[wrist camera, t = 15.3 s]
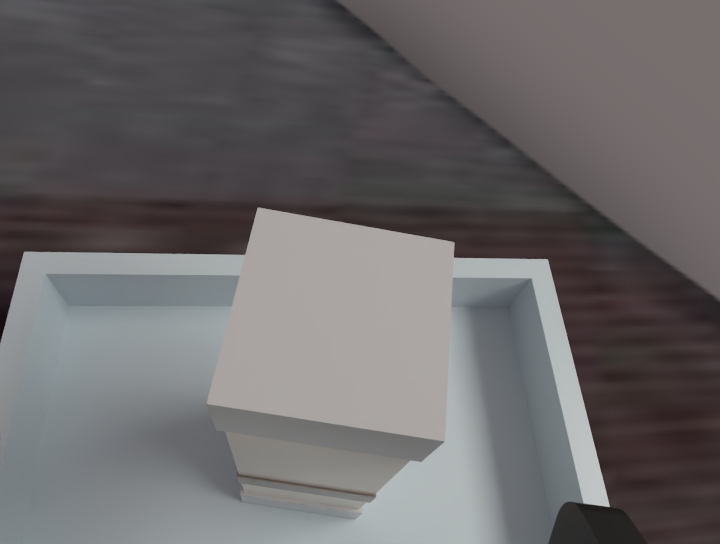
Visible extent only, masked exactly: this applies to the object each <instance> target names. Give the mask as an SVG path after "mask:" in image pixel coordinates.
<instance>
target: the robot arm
mask: <svg viewBox="0 0 720 544" xmlns="http://www.w3.org/2000/svg"><path fill="white" fill-rule="evenodd" d="M548 544H647V542H646V541H645V539H644V538H643V536H642V535H641V534H640V532H639V531H638V529H637V528H636V526H635V525H634V524H633V522H632V521H631V519H630V518H629V516H628V515H627V514H626V513H625V512H624V511H623V510H621V509H619V508H613V507H605V506H598V505H591V504H584V503H577V502H570V501H569V502H566V503H564V504H563V505H562V506H561V508H560V510H559V512H558V514H557V517H556V521H555V524H554V527H553V530H552V533H551V536H550V540H549V543H548Z"/></svg>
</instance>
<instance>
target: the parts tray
mask: <svg viewBox="0 0 720 544" xmlns="http://www.w3.org/2000/svg"><path fill="white" fill-rule="evenodd" d="M244 258H245V255H210V254H141V253H73V252H24V254H23V258H22V262H21V266H20V270H19V273H18V277H17V281H16V285H15V289H14V293H13V297H12V300H11V304H10V308H9V312H8V316H7V320H6V324H5V327H4V331H3V335H2V339H1V343H0V544H548V543H549V540H550V536H551V533H552V530H553V527H554V524H555V521H556V517H557V514H558V512H559V510H560V508H561V506H562V505H563V504H564V503H566V502H569V501H570V502H577V503H584V504H591V505H598V506H605V507H610V506H609V502H608V498H607V494H606V490H605V486H604V482H603V478H602V474H601V470H600V466H599V462H598V458H597V454H596V450H595V446H594V442H593V438H592V434H591V430H590V426H589V422H588V418H587V414H586V410H585V406H584V402H583V398H582V394H581V390H580V386H579V382H578V378H577V374H576V370H575V366H574V362H573V358H572V354H571V350H570V346H569V342H568V338H567V334H566V330H565V326H564V322H563V318H562V314H561V310H560V306H559V302H558V298H557V294H556V290H555V286H554V282H553V278H552V274H551V270H550V266H549V262H548V259H485V258H454V260H453V281H452V302H451V323H450V344H449V365H448V387H447V408H446V429H445V442H444V443H443V444H441V445H440V446H439V447H438V448H437V449H436V450H435V451H433V452H432V453H431V454H430V455H429V456H428V457H426V458H425V459H424V460H423V461H422V462H418V461H410V462H409V463H407V464H406V465H405V466H404V467H403V468H402V469H401V470H400V471H399V472H398V473H397V474H396V475H395V476H394V477H393V478H392V479H391V480H390V481H389V482H387V483H386V484H385V485H384V486H383V487H382V488H381V489H380V490H379V491H378V492H377V493H376V498H375V499H374V500H373V501H372V502H370V503H368V502H366V503H365V504H364V505H363V510H362V514H361V515H360V516H359V517H357V518H356V519H351V518H344V517H337V516H330V515H324V514H317V513H310V512H304V511H297V510H290V509H284V508H277V507H270V506H263V505H257V504H250V503H243V502H242V499H241V496H240V493H241V489H242V483H238V480H237V477H236V476H237V467H236V464H235V461H234V458H233V455H232V451H231V448H230V445H229V442H228V439H227V436H226V432H225V431H218V430H216V429H215V426H214V423H213V421H212V418H211V415H210V412H209V410H208V407H207V404H206V403H207V399H208V396H209V392H210V388H211V384H212V380H213V376H214V373H215V369H216V365H217V361H218V357H219V354H220V350H221V346H222V342H223V338H224V335H225V331H226V327H227V323H228V319H229V315H230V312H231V308H232V304H233V300H234V296H235V293H236V289H237V285H238V281H239V277H240V273H241V270H242V266H243V262H244Z"/></svg>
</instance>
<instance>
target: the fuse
mask: <svg viewBox="0 0 720 544" xmlns="http://www.w3.org/2000/svg"><path fill="white" fill-rule="evenodd" d="M453 260H454V242H450V241H444V240H439V239H433V238H427V237H422V236H416V235H410V234H405V233H399V232H393V231H388V230H382V229H376V228H371V227H365V226H359V225H354V224H348V223H342V222H337V221H331V220H325V219H320V218H314V217H308V216H303V215H297V214H291V213H286V212H280V211H274V210H269V209H263V208H258V209H257V212H256V216H255V220H254V224H253V228H252V232H251V235H250V239H249V243H248V247H247V251H246V254H245V258H244V262H243V266H242V270H241V273H240V277H239V281H238V285H237V289H236V293H235V296H234V300H233V304H232V308H231V312H230V315H229V319H228V323H227V327H226V331H225V335H224V338H223V342H222V346H221V350H220V354H219V357H218V361H217V365H216V369H215V373H214V376H213V380H212V384H211V388H210V392H209V396H208V399H207V403H206V404H207V407H208V410H209V412H210V415H211V418H212V421H213V423H214V426H215V429H216V430H218V431H225V432H226V436H227V439H228V442H229V445H230V448H231V451H232V455H233V458H234V461H235V464H236V467H237V476H236V477H237V480H238V483H242V489H241V493H240V496H241V499H242V502H243V503H250V504H257V505H263V506H270V507H277V508H284V509H290V510H297V511H304V512H310V513H317V514H324V515H330V516H337V517H344V518H351V519H356V518H357V517H359V516H360V515H361V514H362V510H363V505H364V504H365V503H366V502H368V503H370V502H372V501H373V500H374V499H375V498H376V493H377V492H378V491H379V490H380V489H381V488H382V487H383V486H384V485H385V484H386V483H387V482H389V481H390V480H391V479H392V478H393V477H394V476H395V475H396V474H397V473H398V472H399V471H400V470H401V469H402V468H403V467H404V466H405V465H406V464H407V463H409V462H410V461H418V462H422V461H423V460H424V459H425V458H426V457H428V456H429V455H430V454H431V453H432V452H433V451H435V450H436V449H437V448H438V447H439V446H440V445H441V444H443V443H444V442H445V429H446V408H447V387H448V365H449V344H450V323H451V302H452V281H453Z"/></svg>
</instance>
